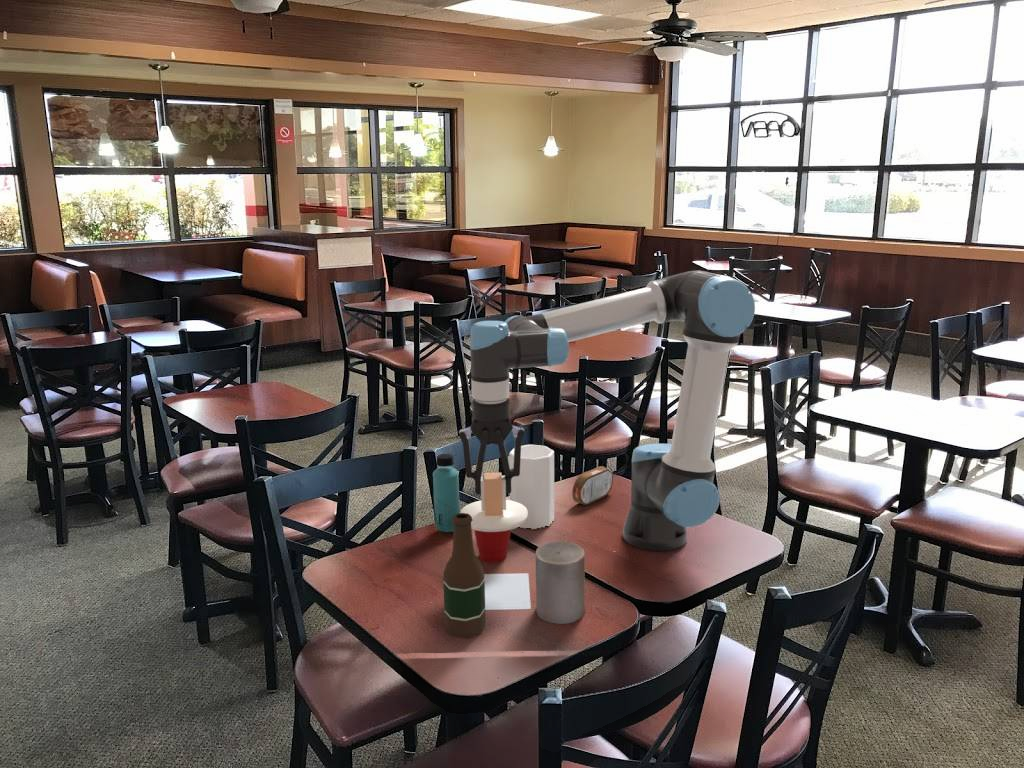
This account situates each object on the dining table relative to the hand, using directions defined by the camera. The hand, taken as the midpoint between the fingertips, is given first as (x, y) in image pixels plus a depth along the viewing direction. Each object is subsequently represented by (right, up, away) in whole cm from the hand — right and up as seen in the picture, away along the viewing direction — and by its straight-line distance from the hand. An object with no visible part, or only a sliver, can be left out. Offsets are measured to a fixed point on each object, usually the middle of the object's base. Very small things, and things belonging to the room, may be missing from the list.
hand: (493, 507), depth 169 cm
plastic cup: (0, -15, +17) cm, 23 cm away
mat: (0, -18, +2) cm, 19 cm away
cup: (+9, -9, +38) cm, 40 cm away
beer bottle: (-5, -22, -12) cm, 26 cm away
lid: (0, -2, +1) cm, 2 cm away
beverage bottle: (-12, -11, +32) cm, 36 cm away
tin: (+26, -6, +50) cm, 57 cm away
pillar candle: (+13, -21, -6) cm, 25 cm away
